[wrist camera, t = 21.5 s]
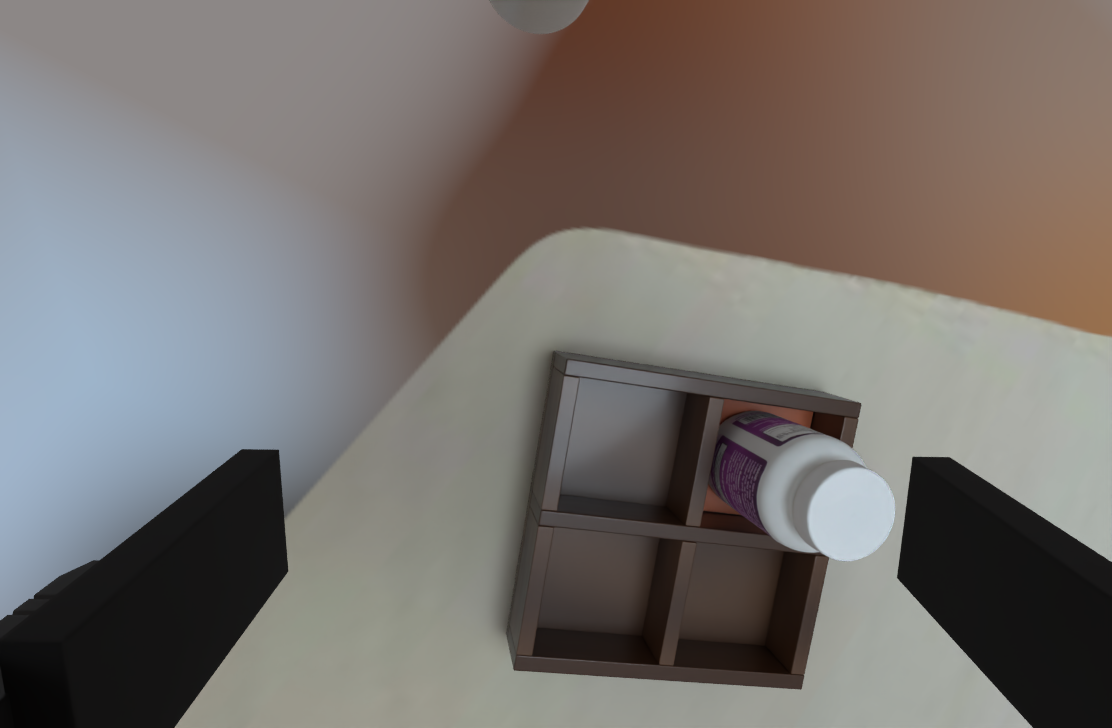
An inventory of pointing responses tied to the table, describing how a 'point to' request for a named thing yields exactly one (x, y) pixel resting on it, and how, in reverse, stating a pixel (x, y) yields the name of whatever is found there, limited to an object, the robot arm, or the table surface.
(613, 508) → the grid
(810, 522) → the pill bottle
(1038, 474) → the table surface
